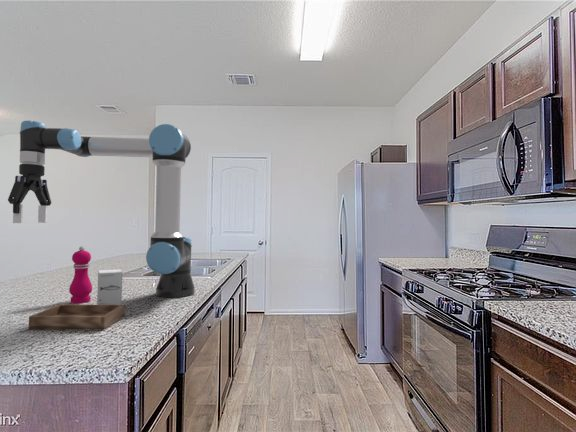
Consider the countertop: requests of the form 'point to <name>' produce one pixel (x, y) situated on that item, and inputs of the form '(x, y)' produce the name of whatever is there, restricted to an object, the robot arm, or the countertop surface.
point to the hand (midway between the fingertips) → (30, 222)
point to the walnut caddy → (76, 317)
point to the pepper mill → (81, 277)
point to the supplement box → (109, 287)
